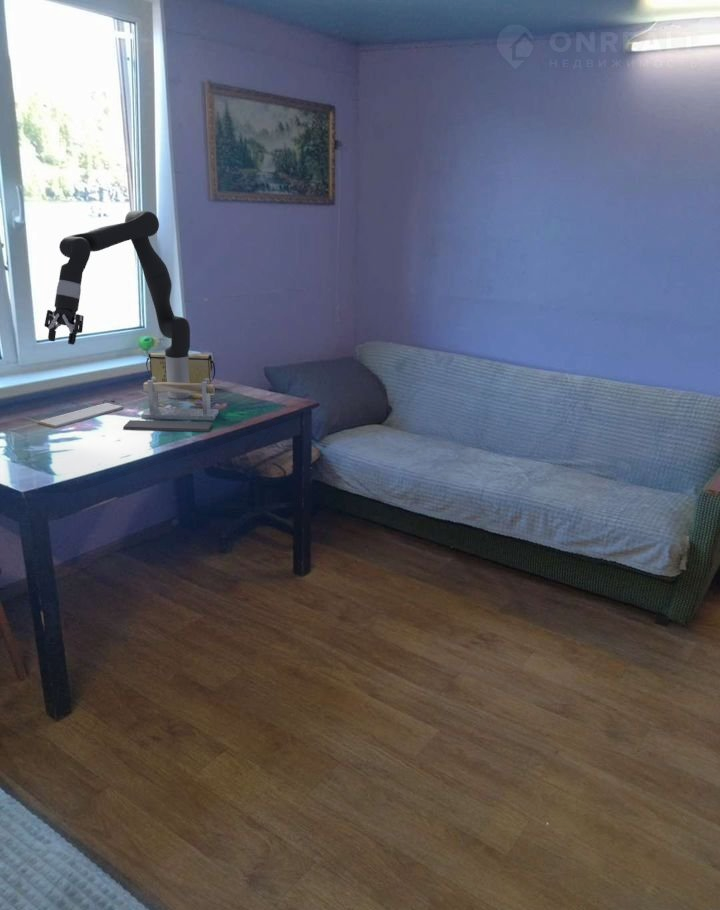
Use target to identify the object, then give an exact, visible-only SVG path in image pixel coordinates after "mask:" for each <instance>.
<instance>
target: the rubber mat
mask: <svg viewBox="0 0 720 910" xmlns="http://www.w3.org/2000/svg"><path fill="white" fill-rule="evenodd" d="M212 426H213V422H207V421H206V422H205V421H201V422H200V421H176V420H175V421H173V420H171V421H170V420H169V421H168V420H167V421H166V420H136V419H134V420H133V419H132V420H131V419H130V420H128V421H127V422H126V423H125V425H123V430H126V431H127V430H131V431H132V430H134V431H135V430H136V431H165V432H166V431H168V432H172V431H174V432H202V433H203V432H207V433H208V432H209V431H210V429H211V428H212Z"/></svg>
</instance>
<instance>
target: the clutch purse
mask: <svg viewBox="0 0 720 910" xmlns="http://www.w3.org/2000/svg"><path fill="white" fill-rule="evenodd" d="M188 357H189V376H190V383H202V382H205V381H204V379H205V378H208V379H209V380H210V384H212V382H213V381H214V379H215V376H216V366H215V363H214V360H215V359H214V358H212V355H211V354H194V353H193V354H190V353H188ZM148 361H149V368H150V372H149V368H148ZM145 366H146V371H147V372H148V373H149V374H148V375H150V379H151V378H152V377H157V382H167V374H166V358H165V353H159V352H158V353H156V352H151V353H150V352H149V353H148V356H146V362H145ZM212 369H213V375H212Z"/></svg>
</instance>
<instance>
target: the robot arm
mask: <svg viewBox="0 0 720 910" xmlns="http://www.w3.org/2000/svg"><path fill="white" fill-rule="evenodd" d="M159 227H160V222H159V218H158V217H157V215H156V214H155V213H153V212H152V211H148V210H130V211H128V212H127V213H126V215H125V220H124V222H122V223H121V222H120V223H116V224H109V225H103V226H100V227H98V228H95V229H92V230H89V231H87V232H83V233H77V234H72V235H68V236H66V237H64V238H62V240H61V241H60V242H59V247H58V248H59V251H60V253H61V254H62V255H63V256H64V257H66V258H68V261H67V262H66V263H63V264H62V265H61V266H60V271H59V278H58V282H57V287H56V291H55V293H56V294H55V298H54V307H55V310H52V309H47V311H46V314H45V315H46V316H45V319H44V327H46V328H47V329H48V335H47V340H48V342H49V341H50V342H55V340H56V336H57V335H56V333H57V331H56V330H57V329H58V328H59V327H61V326H66V327H67V328H68V330H69V334H68V340H67V344H69V345H71V346H74V345H75V343H76V339H77V334H81V333H83V329H84V328H83V327H84V320H85V319H84V317H85V316H84V315H82V314H78V313H77V312H78V310H79V305H80V300H81V291H82V288H81V287H82V279H83V273H84V270H85V269H86V266H87V264H88V262H89V260H90V257H91V252H98V251H103V250H105V249H108V248H110V247H112V246H116V245H119V244H121V243H124V242H126V241H131V243H132V245H133V248H134V250H135V252H136V255H137V259H138V260H139V263H140V266H141V269H142V273H143V276H144V280H145V281H146V284H147V287H148V290H149V294H150V296H151V300H152V303H153V307H154V309H155V314H156V321H157V323H158V324H157V325H158V328H159V331H160V333H161V335H162V336H163V337H165V338H168V339H170V341H171V343H170V346H169V347H165V350H164V354H165V358H166V374H167V382H171V383H190V376H189V357H188V354H189V351H190V348H191V328H190V323H189V321H188V320H187V319H186V318H185V317H182V316H176V315H175V314H174V311H173V309H172V306H171V301H170V299H171V293H172V280H171V277H170V273H169V270H168V267H167V265H166V263H165V262H164V261H163V259H162V258H161V256H159V254H158V253H157V252H156V250H155V249H154V248H153V246H152V244H151V241H150V239H149V237H152V236H155V235H156V234H157V232H158V231H159ZM167 397H168V398H169V399H174V400H175V399H178V400H179V399H181V400H183V399H187V398H190V397H191V393H181V392H167Z"/></svg>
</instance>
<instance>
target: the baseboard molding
mask: <svg viewBox="0 0 720 910" xmlns="http://www.w3.org/2000/svg"><path fill="white" fill-rule="evenodd" d="M105 401H106V402H105ZM109 402H112V403H109ZM118 404H119V405H118ZM123 409H124V404H123V403H122V404H121V405H120V403H117V404H115V400H111V401H109V400H108V402H107V400H106V399H104V400H103V401H102V403H101V404H97V405H93V406H89V407H87V408H86V407H85V408H81V409H79V410H75V411H72V412H67V413H64V414H60V415H57V416H52V417H48V418H45V419H41V420H38V421H36V422H35V423H36V424H39V425H41V426H47V427H51V428H53V429H57V428H61V427H63V426H66V425H67V426H68V425H71V424H75V423H78V422H81V421H84V420H88V419H91V418H95V417H99V416H103V415H105V414H110V413H112V412H117V411H119V410H123Z"/></svg>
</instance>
